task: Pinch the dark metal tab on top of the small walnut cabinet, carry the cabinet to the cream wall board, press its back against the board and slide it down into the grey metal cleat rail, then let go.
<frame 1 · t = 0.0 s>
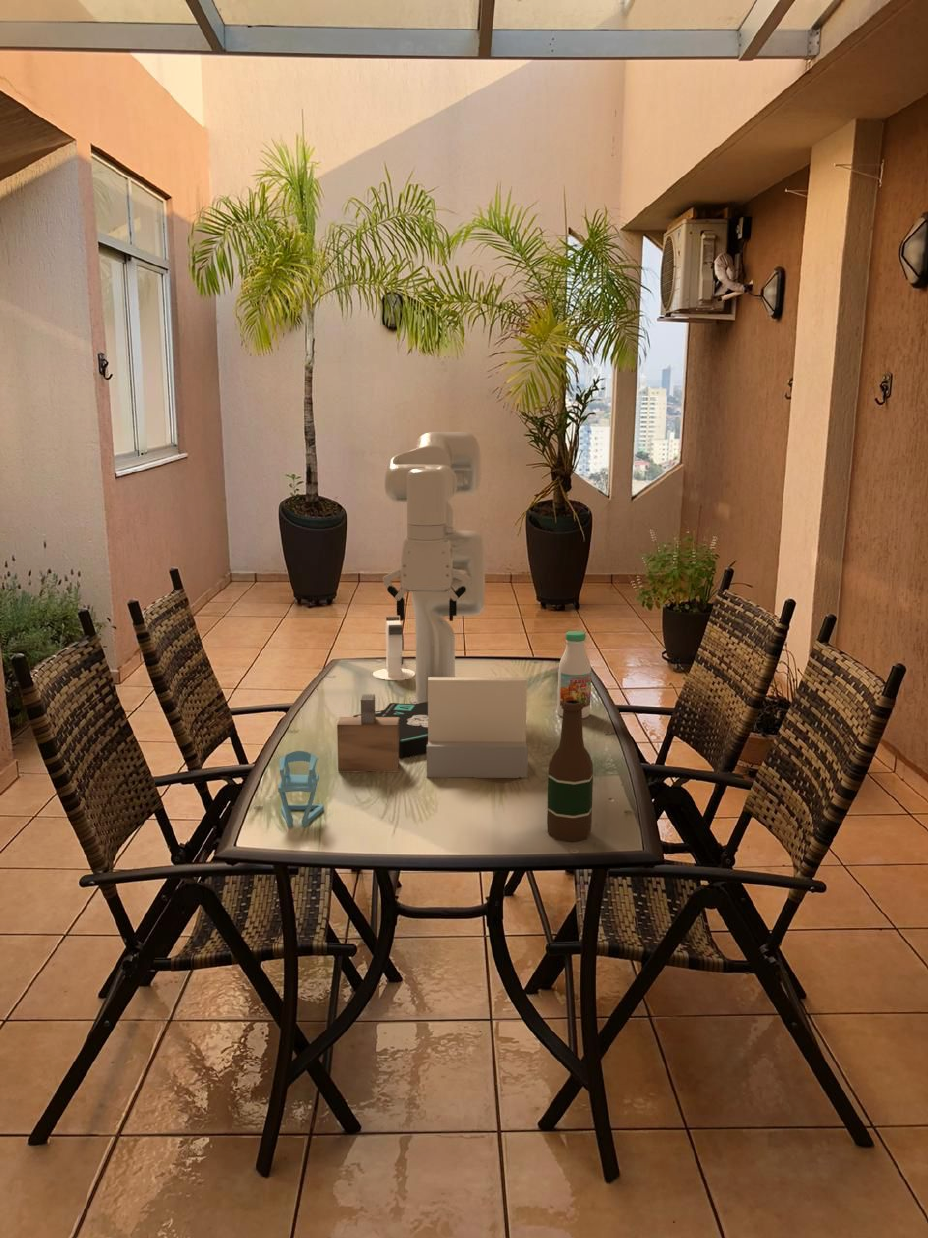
hand: (426, 619, 209), 31 cm above the table, tool pointing down, fingers open, 9 cm apart
walnut cabinet: (369, 767, 217), on the table
wall board: (476, 762, 220), on the table
white peg on disc: (394, 676, 285), on the table
beer bottle: (569, 834, 186), on the table
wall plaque: (418, 738, 237), on the table
milk bottle: (573, 715, 252), on the table
chair: (299, 819, 192), on the table
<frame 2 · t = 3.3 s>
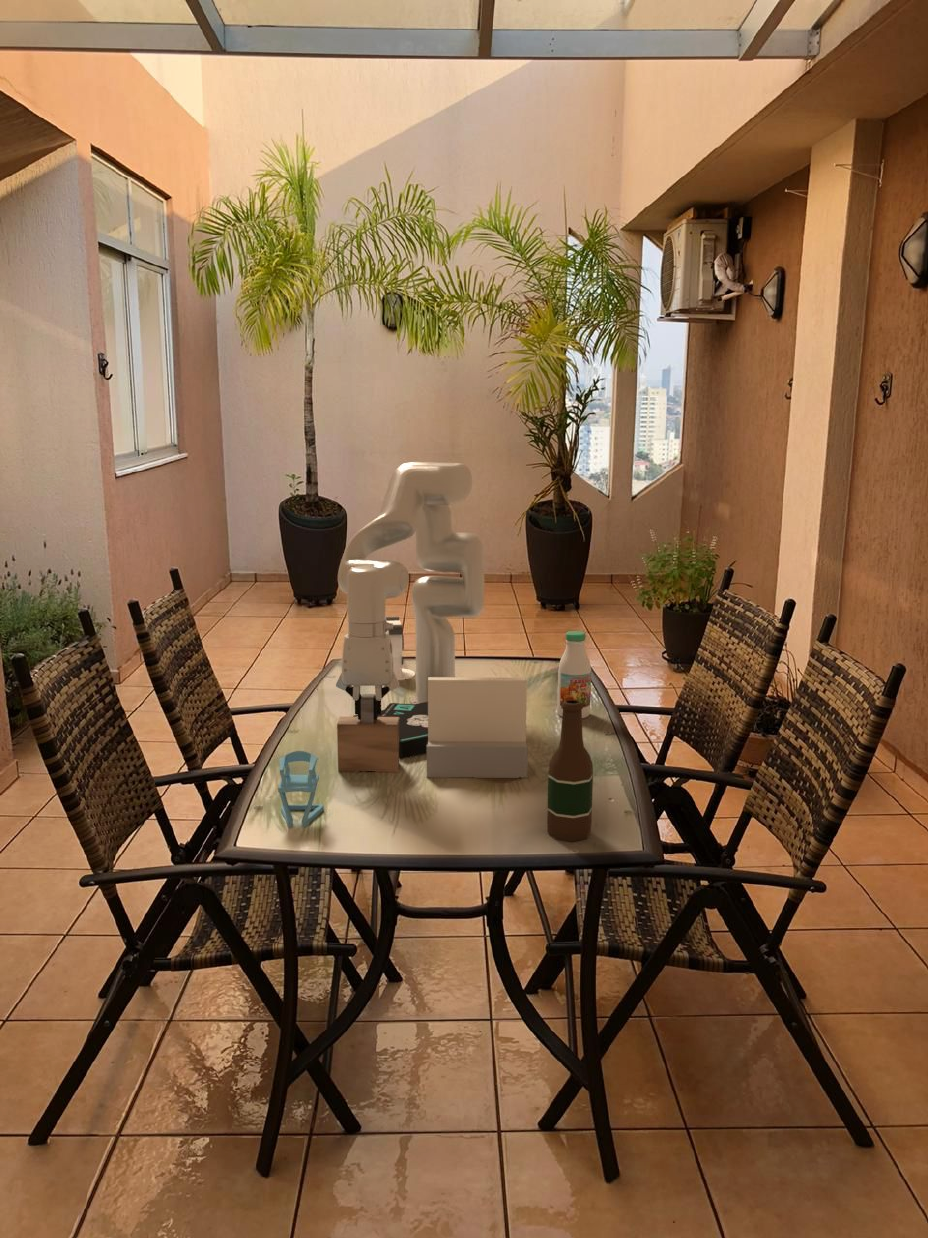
hand: (368, 717, 215), 11 cm above the table, tool pointing down, fingers closed on walnut cabinet, 2 cm apart
walnut cabinet: (369, 767, 217), on the table, touching gripper
everything else where it was.
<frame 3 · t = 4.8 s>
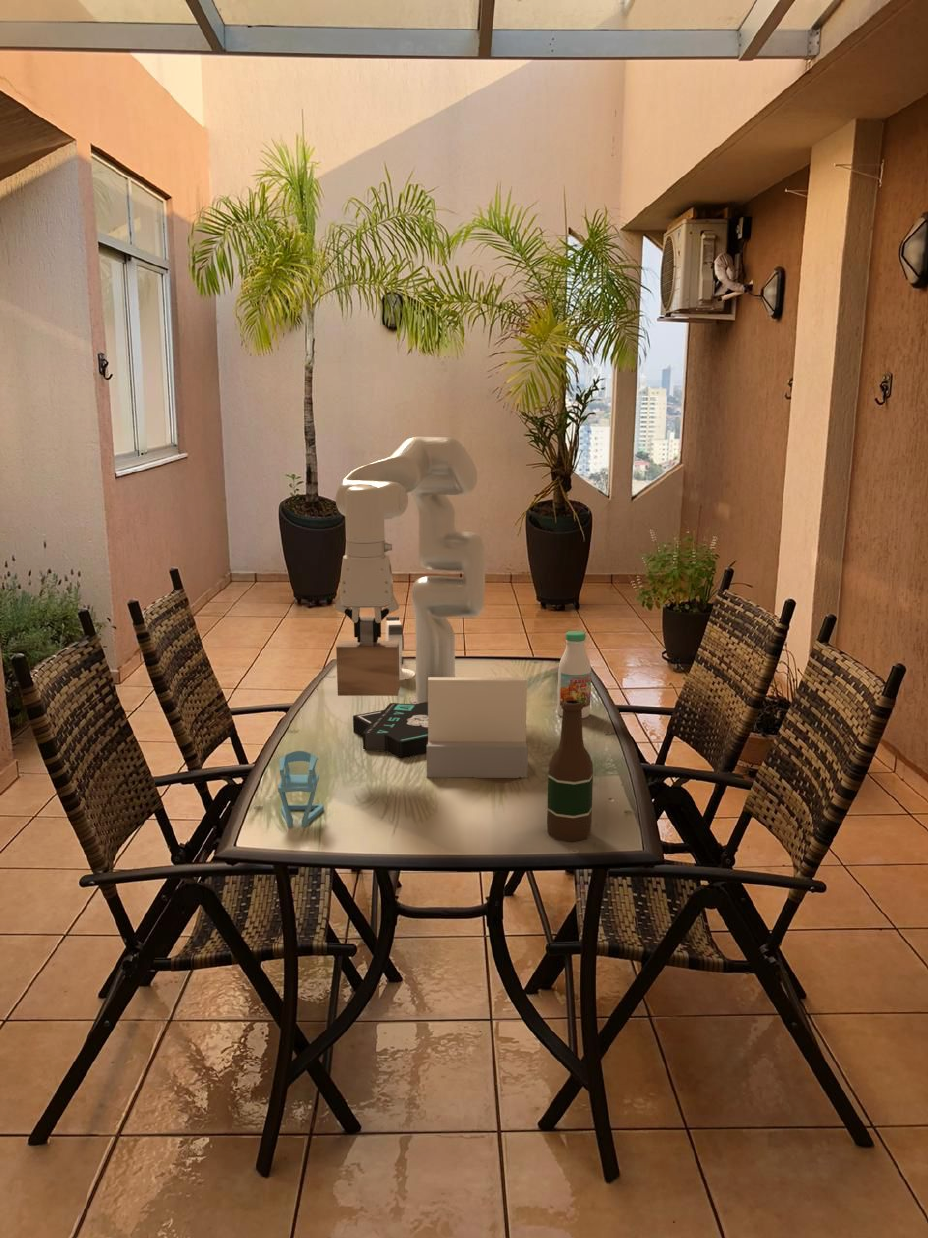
hand: (367, 640, 212), 27 cm above the table, tool pointing down, fingers closed on walnut cabinet, 2 cm apart
walnut cabinet: (369, 691, 214), point 16 cm above the table, touching gripper
everything else where it was.
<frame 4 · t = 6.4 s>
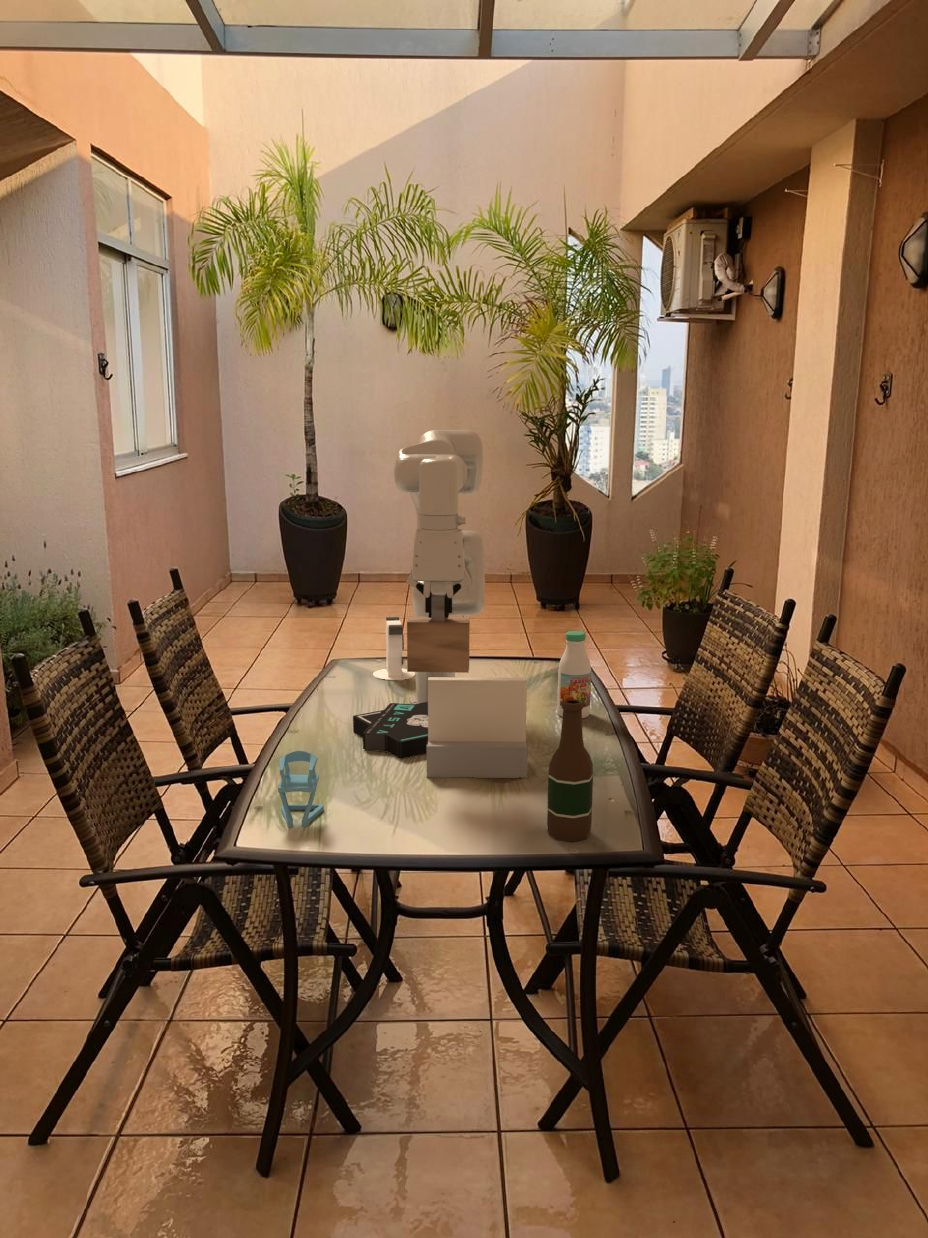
hand: (438, 615, 208), 32 cm above the table, tool pointing down, fingers closed on walnut cabinet, 2 cm apart
walnut cabinet: (438, 668, 211), point 21 cm above the table, touching gripper
everything else where it was.
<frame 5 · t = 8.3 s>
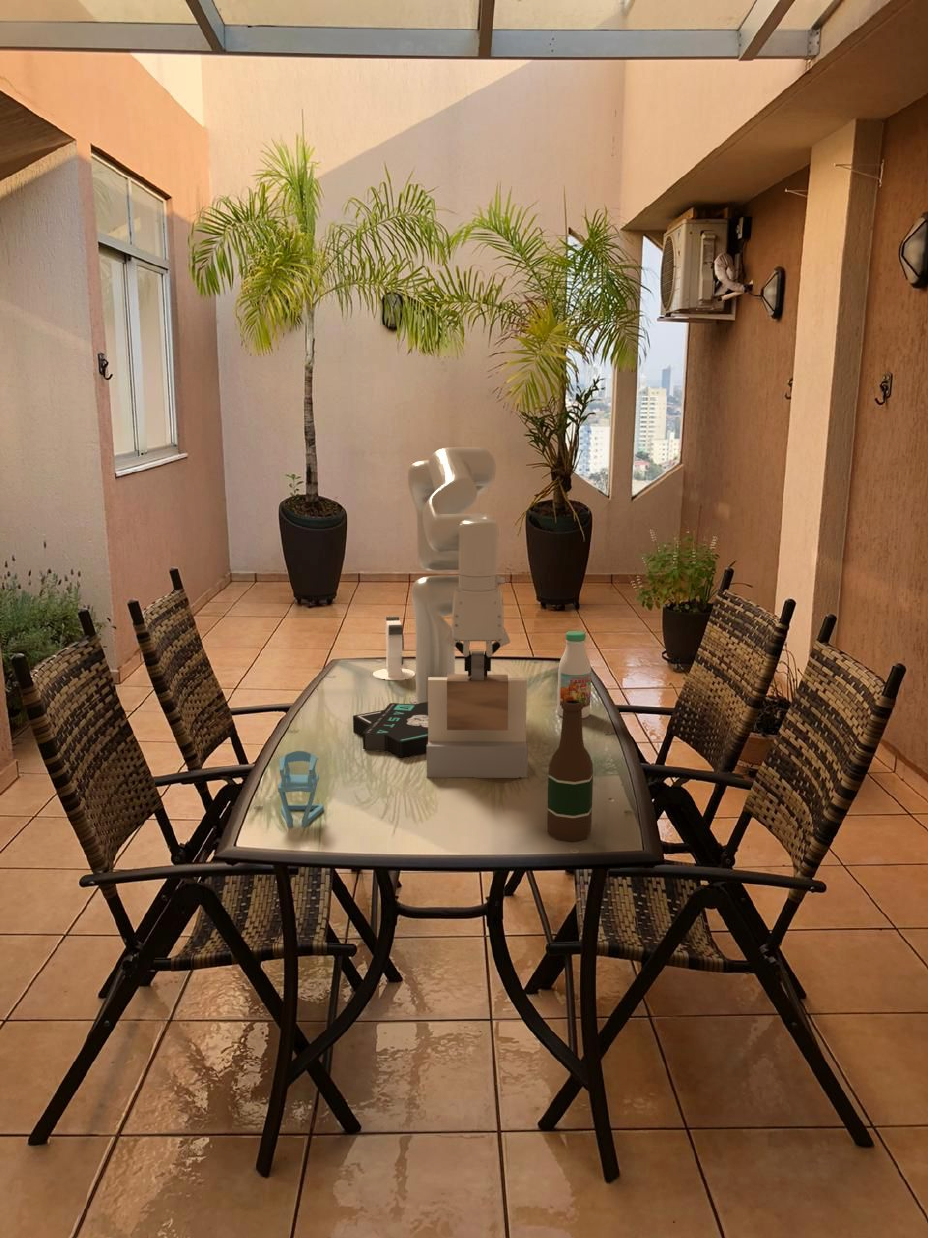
hand: (477, 674, 210), 21 cm above the table, tool pointing down, fingers closed on walnut cabinet, 2 cm apart
walnut cabinet: (477, 726, 212), point 10 cm above the table, touching gripper
everything else where it was.
when the fingers open (17 cm above the table, at t = 9.8 s): walnut cabinet drops 1 cm, resting on wall board.
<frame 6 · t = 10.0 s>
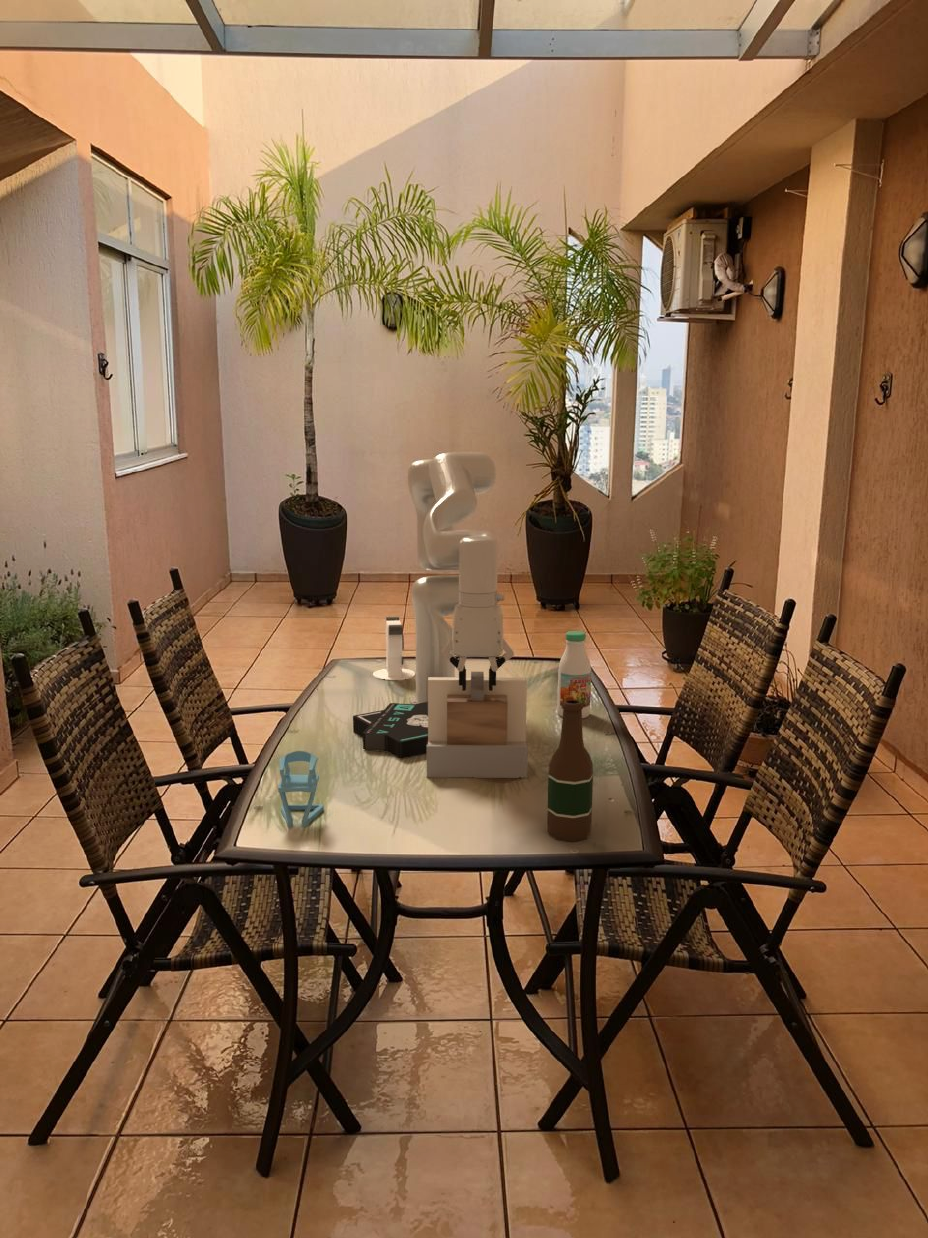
hand: (477, 688, 212), 17 cm above the table, tool pointing down, fingers open, 4 cm apart
walnut cabinet: (476, 745, 215), point 5 cm above the table, touching wall board
everything else where it was.
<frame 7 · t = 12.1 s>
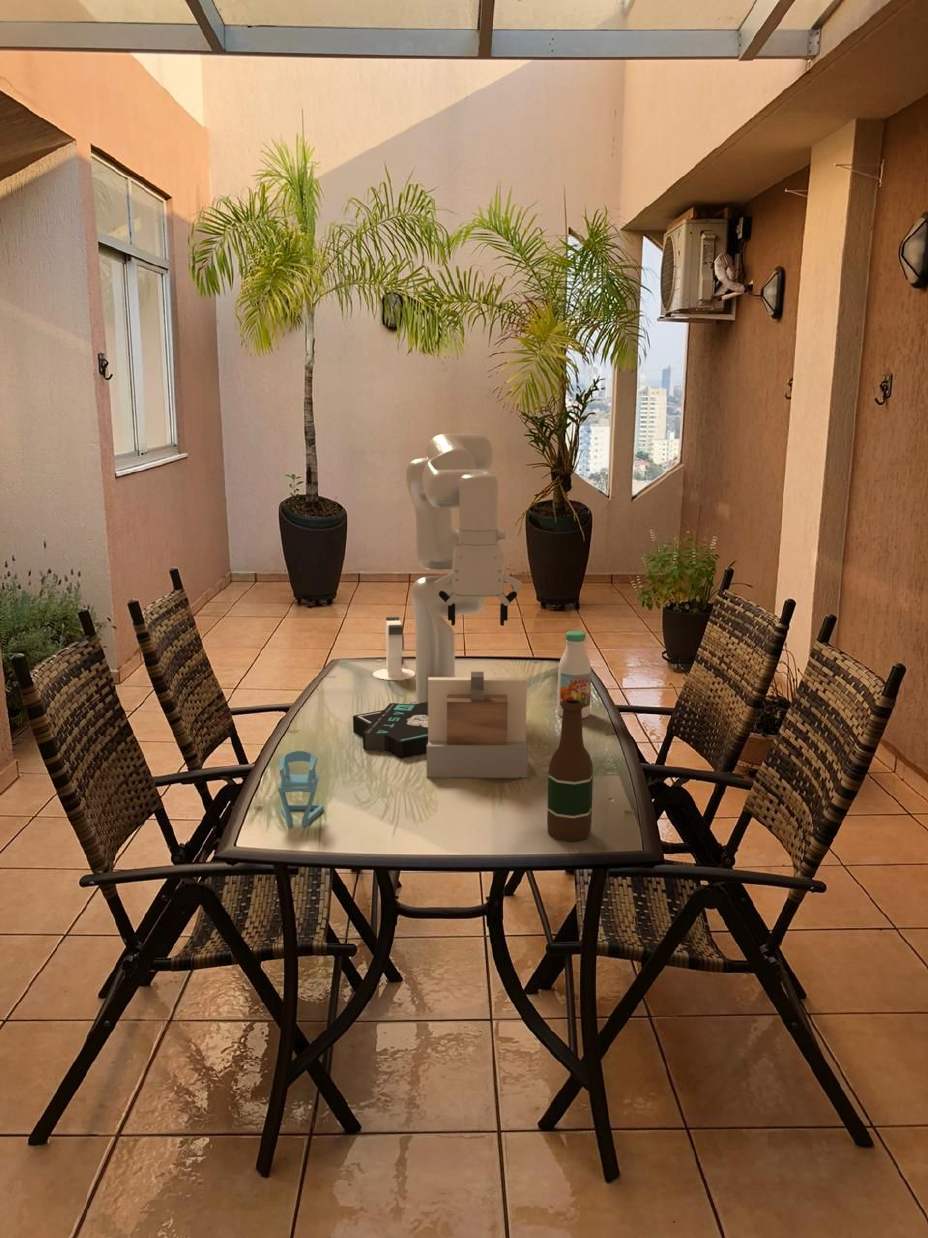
hand: (477, 624, 210), 30 cm above the table, tool pointing down, fingers open, 9 cm apart
nothing on the table moved.
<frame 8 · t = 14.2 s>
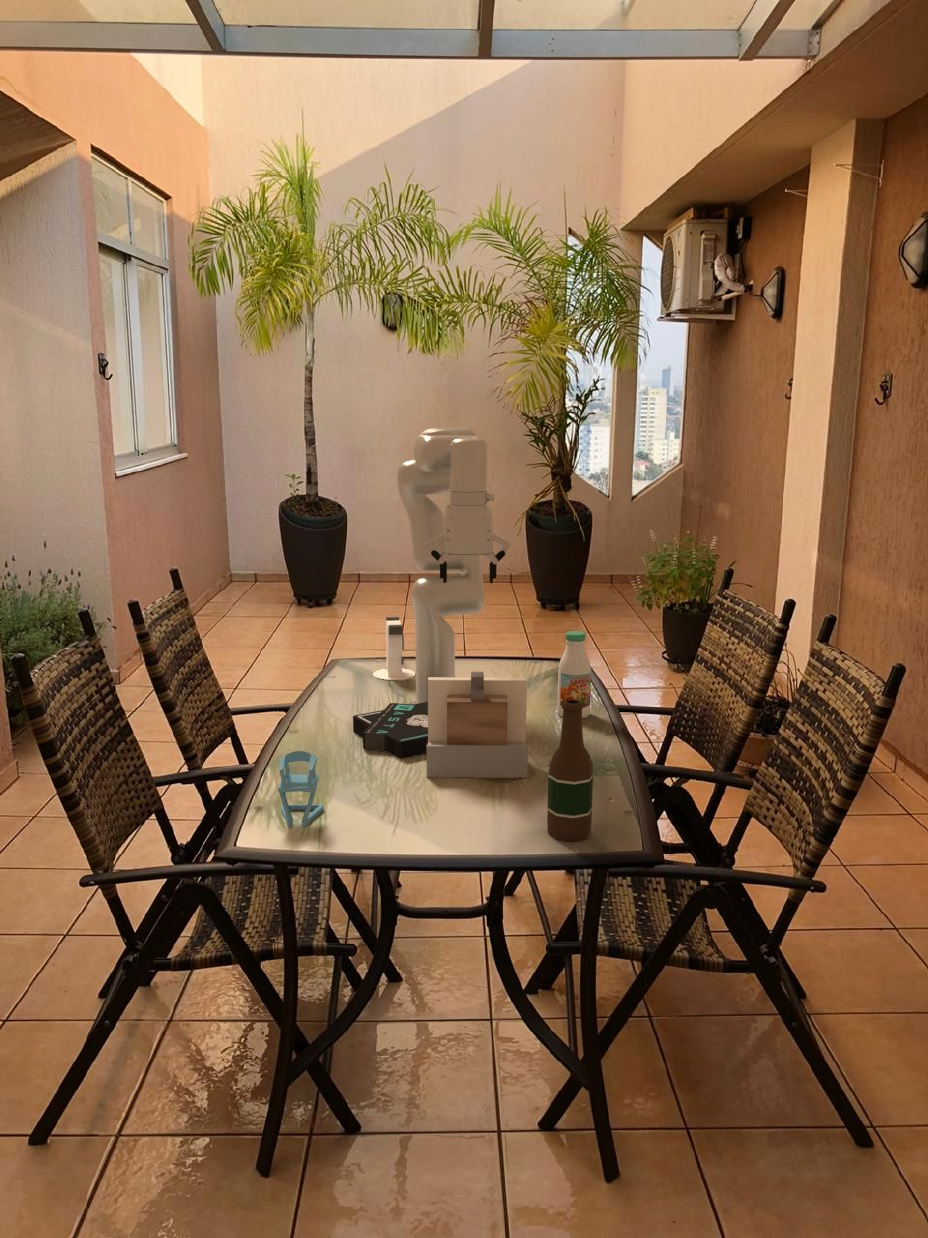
hand: (468, 582, 221), 36 cm above the table, tool pointing down, fingers open, 9 cm apart
nothing on the table moved.
at the end: walnut cabinet 0.3 cm from the target spot on the wall board, point 5.0 cm above the wall board's base; walnut cabinet tilted 0°; the gripper is holding nothing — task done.
